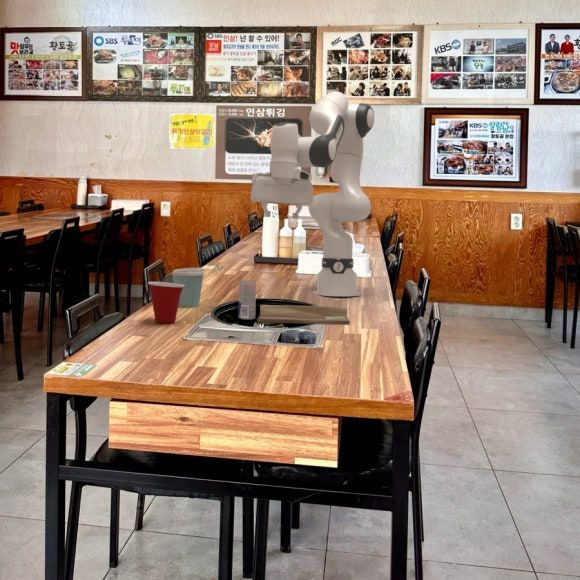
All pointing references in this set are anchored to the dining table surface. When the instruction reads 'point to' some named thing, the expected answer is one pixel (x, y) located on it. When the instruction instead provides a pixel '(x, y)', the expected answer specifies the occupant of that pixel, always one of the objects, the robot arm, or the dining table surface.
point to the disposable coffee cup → (189, 286)
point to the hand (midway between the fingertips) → (281, 217)
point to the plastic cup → (165, 300)
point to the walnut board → (303, 314)
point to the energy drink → (247, 299)
